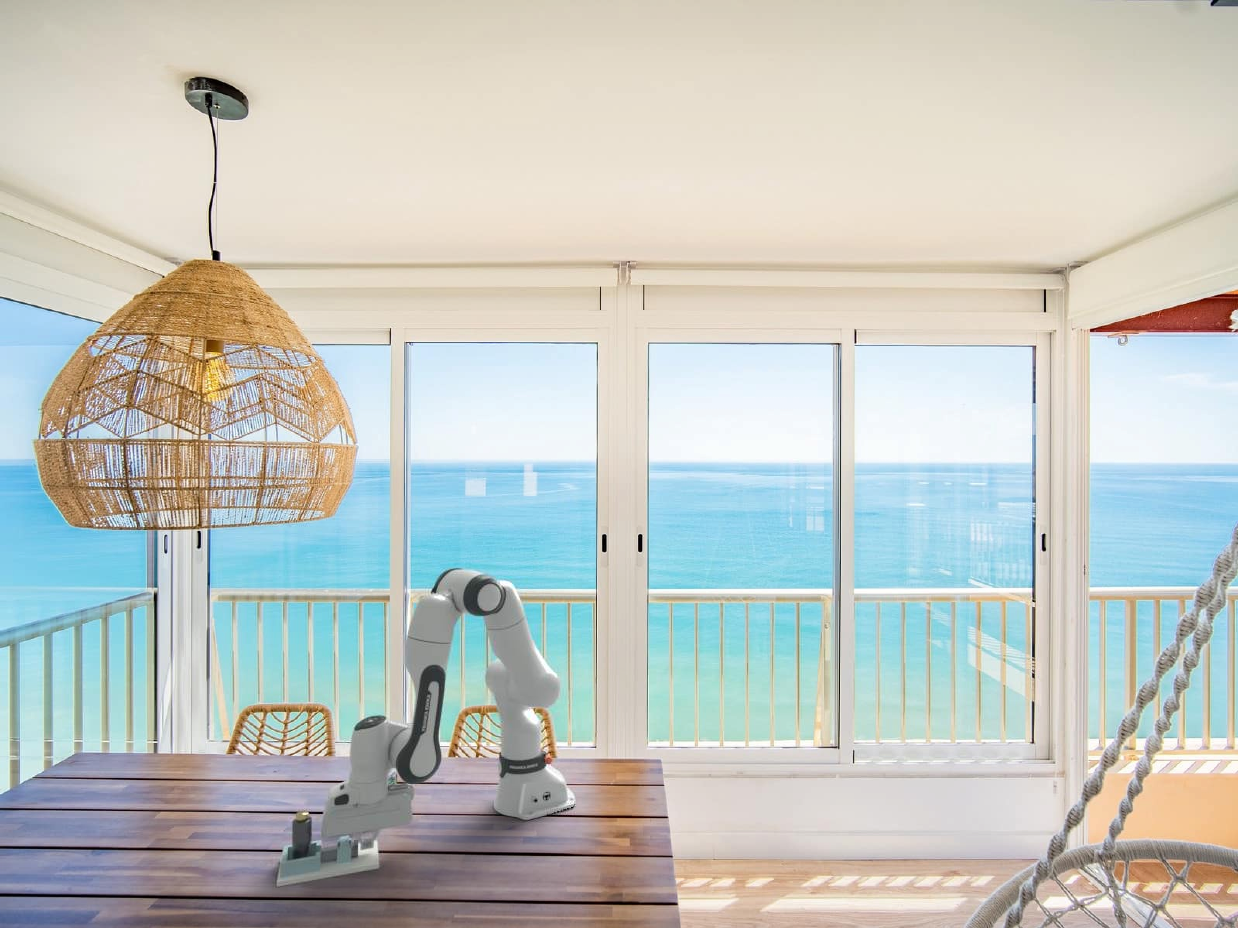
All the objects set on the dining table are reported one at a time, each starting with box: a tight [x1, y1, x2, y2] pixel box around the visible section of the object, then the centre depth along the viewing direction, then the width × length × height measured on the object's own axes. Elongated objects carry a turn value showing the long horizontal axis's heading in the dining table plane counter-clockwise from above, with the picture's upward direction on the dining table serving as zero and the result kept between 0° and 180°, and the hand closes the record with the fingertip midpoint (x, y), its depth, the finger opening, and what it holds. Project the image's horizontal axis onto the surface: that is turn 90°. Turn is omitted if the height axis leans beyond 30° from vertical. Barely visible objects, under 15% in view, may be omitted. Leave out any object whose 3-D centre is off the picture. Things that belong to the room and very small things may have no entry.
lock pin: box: [320, 839, 359, 862], centre depth 156 cm, size 8×3×3 cm, turn 112°
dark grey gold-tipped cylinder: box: [291, 810, 313, 860], centre depth 153 cm, size 4×4×12 cm
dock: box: [276, 834, 380, 888], centre depth 155 cm, size 21×11×5 cm, turn 112°
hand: (366, 848), depth 158 cm, fingers closed
